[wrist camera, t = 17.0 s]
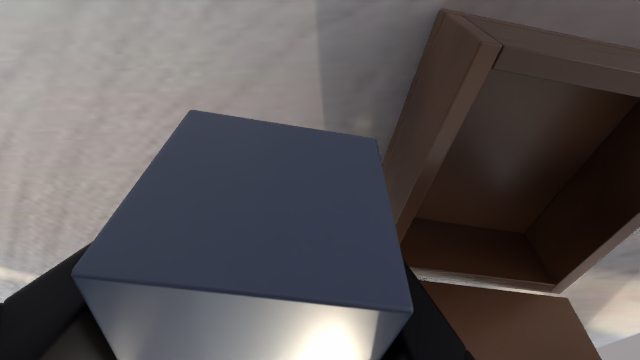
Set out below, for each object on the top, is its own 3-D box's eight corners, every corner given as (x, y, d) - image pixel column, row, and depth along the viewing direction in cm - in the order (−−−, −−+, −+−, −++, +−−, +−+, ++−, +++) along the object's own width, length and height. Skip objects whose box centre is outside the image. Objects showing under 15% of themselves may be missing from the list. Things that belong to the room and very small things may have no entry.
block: (339, 252, 10) (345, 414, 7) (201, 234, 10) (135, 398, 7) (377, 137, 8) (416, 312, 4) (189, 107, 7) (64, 273, 4)
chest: (439, 8, 14) (480, 40, 10) (674, 56, 15) (790, 102, 11) (364, 211, 22) (372, 271, 18) (522, 233, 23) (559, 294, 19)
